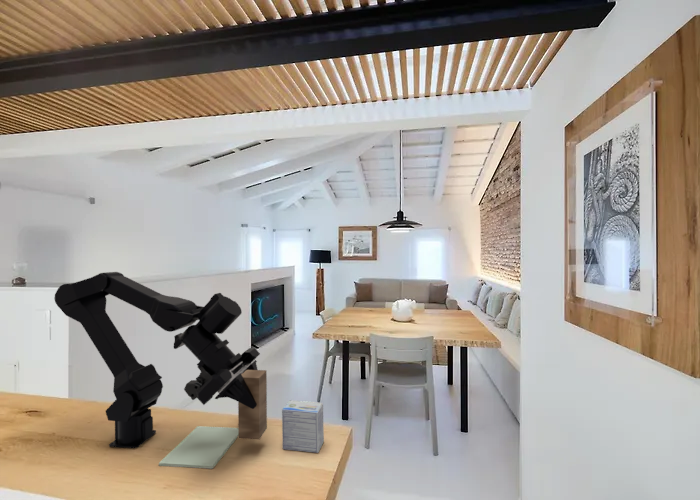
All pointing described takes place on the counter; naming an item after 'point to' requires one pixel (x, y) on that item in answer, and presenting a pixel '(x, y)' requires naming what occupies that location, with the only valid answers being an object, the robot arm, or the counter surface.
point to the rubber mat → (201, 447)
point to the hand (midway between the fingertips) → (259, 401)
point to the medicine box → (302, 426)
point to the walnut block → (255, 419)
